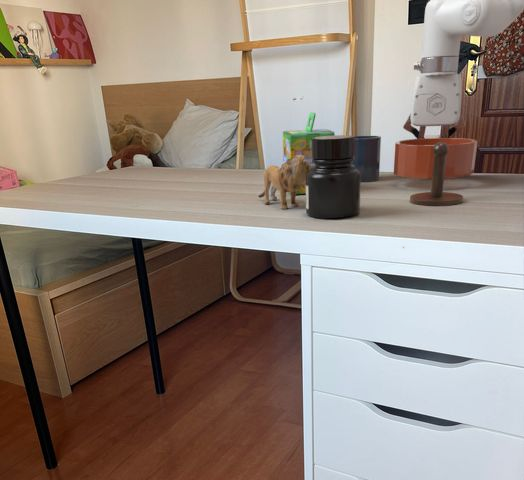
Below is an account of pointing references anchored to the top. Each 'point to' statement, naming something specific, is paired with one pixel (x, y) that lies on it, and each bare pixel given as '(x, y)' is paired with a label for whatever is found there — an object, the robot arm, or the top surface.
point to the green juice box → (302, 144)
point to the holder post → (437, 182)
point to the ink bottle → (333, 178)
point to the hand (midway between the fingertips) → (430, 158)
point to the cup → (367, 157)
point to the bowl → (421, 157)
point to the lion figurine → (286, 179)
